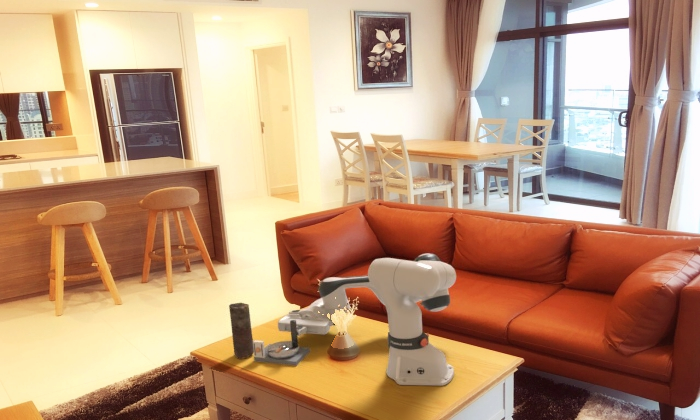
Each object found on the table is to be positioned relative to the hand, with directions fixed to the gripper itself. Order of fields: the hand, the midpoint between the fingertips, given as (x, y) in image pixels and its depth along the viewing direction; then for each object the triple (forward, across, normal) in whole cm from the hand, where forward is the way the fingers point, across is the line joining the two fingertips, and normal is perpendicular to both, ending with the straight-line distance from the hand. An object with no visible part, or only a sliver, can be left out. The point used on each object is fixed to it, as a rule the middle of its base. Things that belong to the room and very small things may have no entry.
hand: (295, 333), depth 210 cm
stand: (+3, +5, -8) cm, 10 cm away
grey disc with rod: (+3, +4, -7) cm, 8 cm away
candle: (+4, +20, -8) cm, 22 cm away
